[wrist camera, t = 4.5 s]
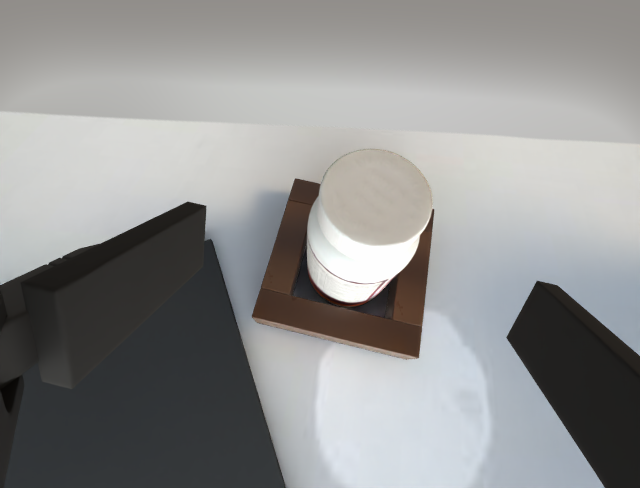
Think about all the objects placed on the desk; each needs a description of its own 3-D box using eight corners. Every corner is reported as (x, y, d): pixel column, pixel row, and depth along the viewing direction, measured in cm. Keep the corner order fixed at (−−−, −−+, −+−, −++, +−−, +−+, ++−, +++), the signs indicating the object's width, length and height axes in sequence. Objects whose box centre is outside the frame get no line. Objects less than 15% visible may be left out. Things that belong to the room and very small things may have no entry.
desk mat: (301, 539, 18) (300, 542, 18) (-7, 702, 15) (-14, 710, 15) (212, 240, 25) (210, 238, 24) (-14, 315, 22) (-19, 314, 22)
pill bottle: (361, 222, 26) (400, 121, 15) (400, 287, 24) (473, 223, 13) (293, 251, 25) (285, 164, 14) (328, 323, 23) (348, 283, 12)
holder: (407, 359, 22) (419, 358, 20) (256, 322, 23) (251, 317, 20) (423, 223, 26) (434, 209, 24) (295, 194, 27) (294, 177, 24)
